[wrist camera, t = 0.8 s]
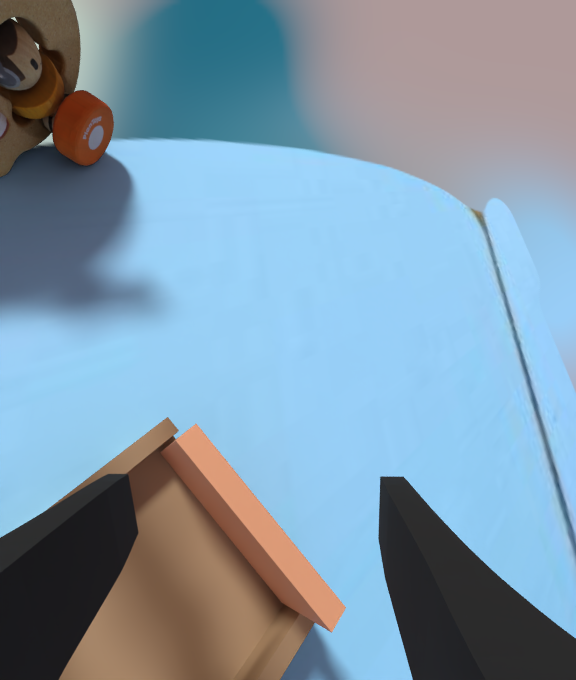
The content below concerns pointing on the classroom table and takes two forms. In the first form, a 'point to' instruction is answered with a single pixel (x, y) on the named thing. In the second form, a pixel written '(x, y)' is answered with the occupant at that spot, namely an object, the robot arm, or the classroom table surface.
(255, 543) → the orange rectangular block
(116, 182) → the classroom table surface
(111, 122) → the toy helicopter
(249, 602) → the open wooden crate
